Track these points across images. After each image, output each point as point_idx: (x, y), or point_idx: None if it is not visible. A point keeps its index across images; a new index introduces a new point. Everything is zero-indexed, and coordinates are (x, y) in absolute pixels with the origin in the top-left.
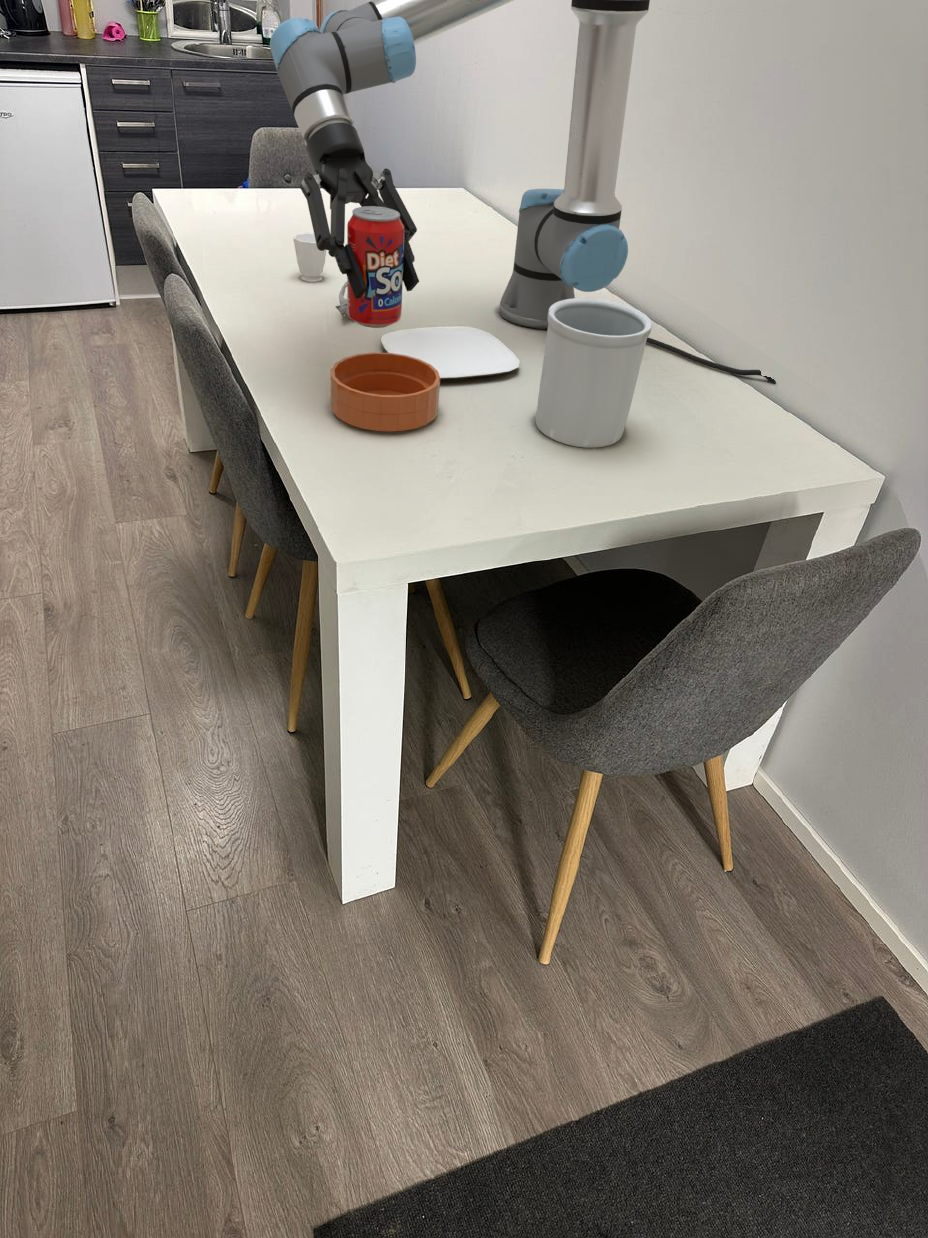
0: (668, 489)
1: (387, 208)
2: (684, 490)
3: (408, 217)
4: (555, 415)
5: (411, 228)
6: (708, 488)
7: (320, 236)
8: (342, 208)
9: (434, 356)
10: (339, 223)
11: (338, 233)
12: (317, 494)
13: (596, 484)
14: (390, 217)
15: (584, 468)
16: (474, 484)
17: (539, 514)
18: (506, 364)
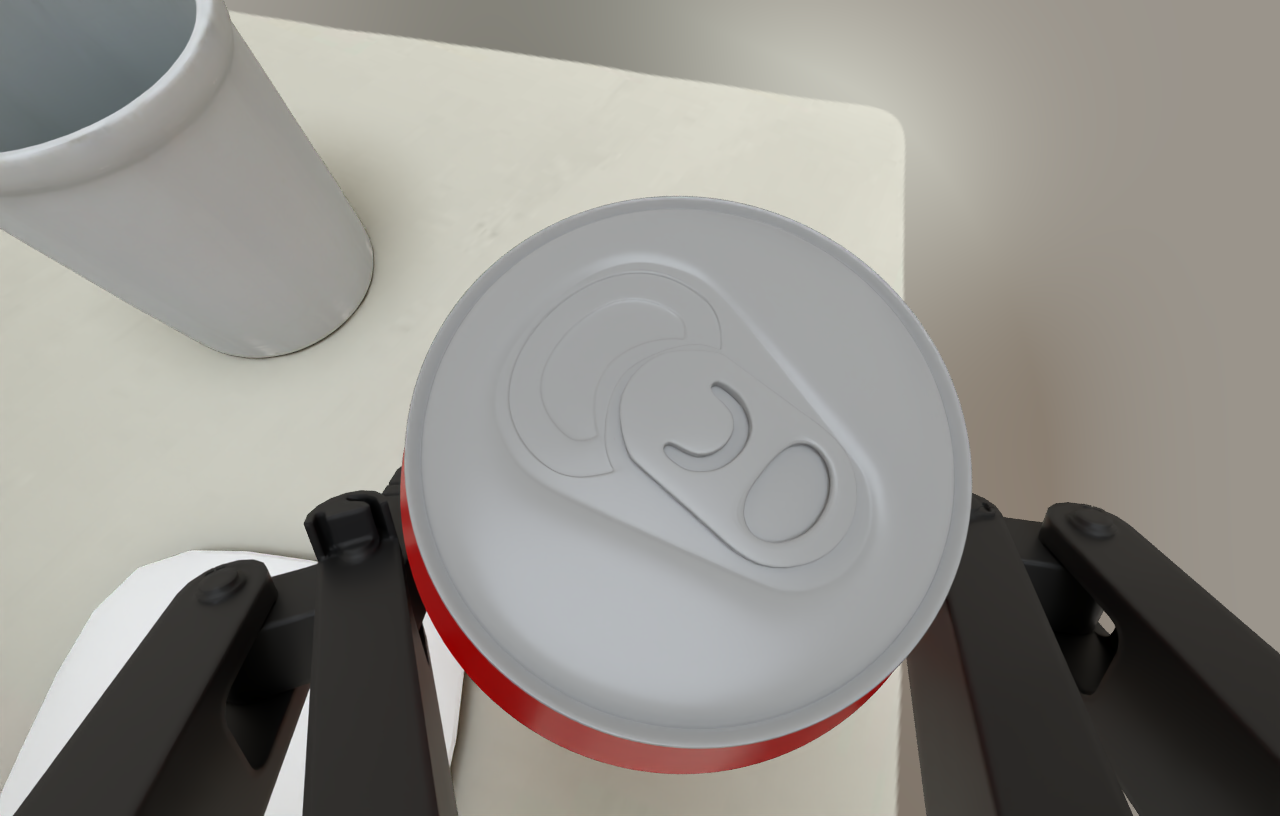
0: (332, 65)
1: (446, 575)
2: (311, 54)
3: (141, 689)
4: (351, 216)
5: (243, 580)
6: (269, 44)
7: (1098, 667)
8: (1033, 803)
9: (297, 775)
10: (1013, 617)
11: (993, 547)
12: (889, 258)
13: (428, 115)
14: (630, 223)
15: (404, 157)
16: (621, 188)
17: (578, 90)
18: (161, 590)
